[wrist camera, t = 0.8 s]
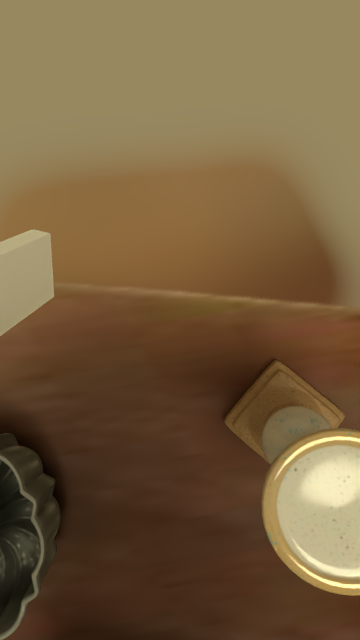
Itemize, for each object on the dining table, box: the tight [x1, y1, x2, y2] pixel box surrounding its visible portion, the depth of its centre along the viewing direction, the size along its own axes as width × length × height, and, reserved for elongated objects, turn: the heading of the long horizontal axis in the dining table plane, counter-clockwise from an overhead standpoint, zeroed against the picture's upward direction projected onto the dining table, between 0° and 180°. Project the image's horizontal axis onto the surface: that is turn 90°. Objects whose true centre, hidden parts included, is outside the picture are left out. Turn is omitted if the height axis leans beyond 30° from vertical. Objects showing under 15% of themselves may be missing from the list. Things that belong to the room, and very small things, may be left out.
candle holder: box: [224, 360, 360, 596], centre depth 33 cm, size 11×11×24 cm
